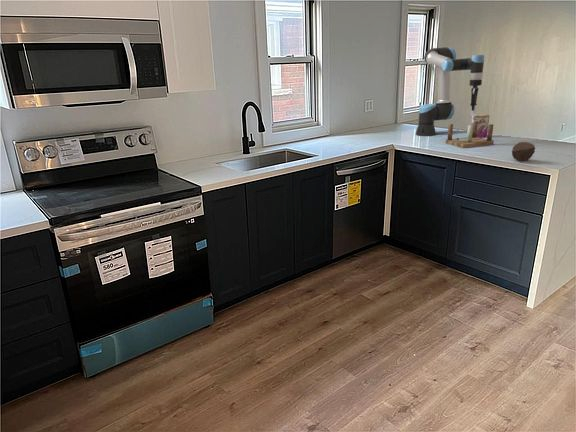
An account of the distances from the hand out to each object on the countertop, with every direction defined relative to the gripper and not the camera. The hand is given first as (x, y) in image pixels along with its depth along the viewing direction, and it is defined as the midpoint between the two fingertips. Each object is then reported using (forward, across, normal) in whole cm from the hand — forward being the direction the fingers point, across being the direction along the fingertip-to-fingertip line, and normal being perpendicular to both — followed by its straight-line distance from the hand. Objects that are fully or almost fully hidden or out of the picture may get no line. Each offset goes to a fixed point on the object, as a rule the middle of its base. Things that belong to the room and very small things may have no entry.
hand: (472, 115), depth 290 cm
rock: (+20, +44, +34) cm, 59 cm away
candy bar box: (+20, -25, +2) cm, 32 cm away
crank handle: (+17, +8, -3) cm, 19 cm away
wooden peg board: (+20, +2, 0) cm, 20 cm away
